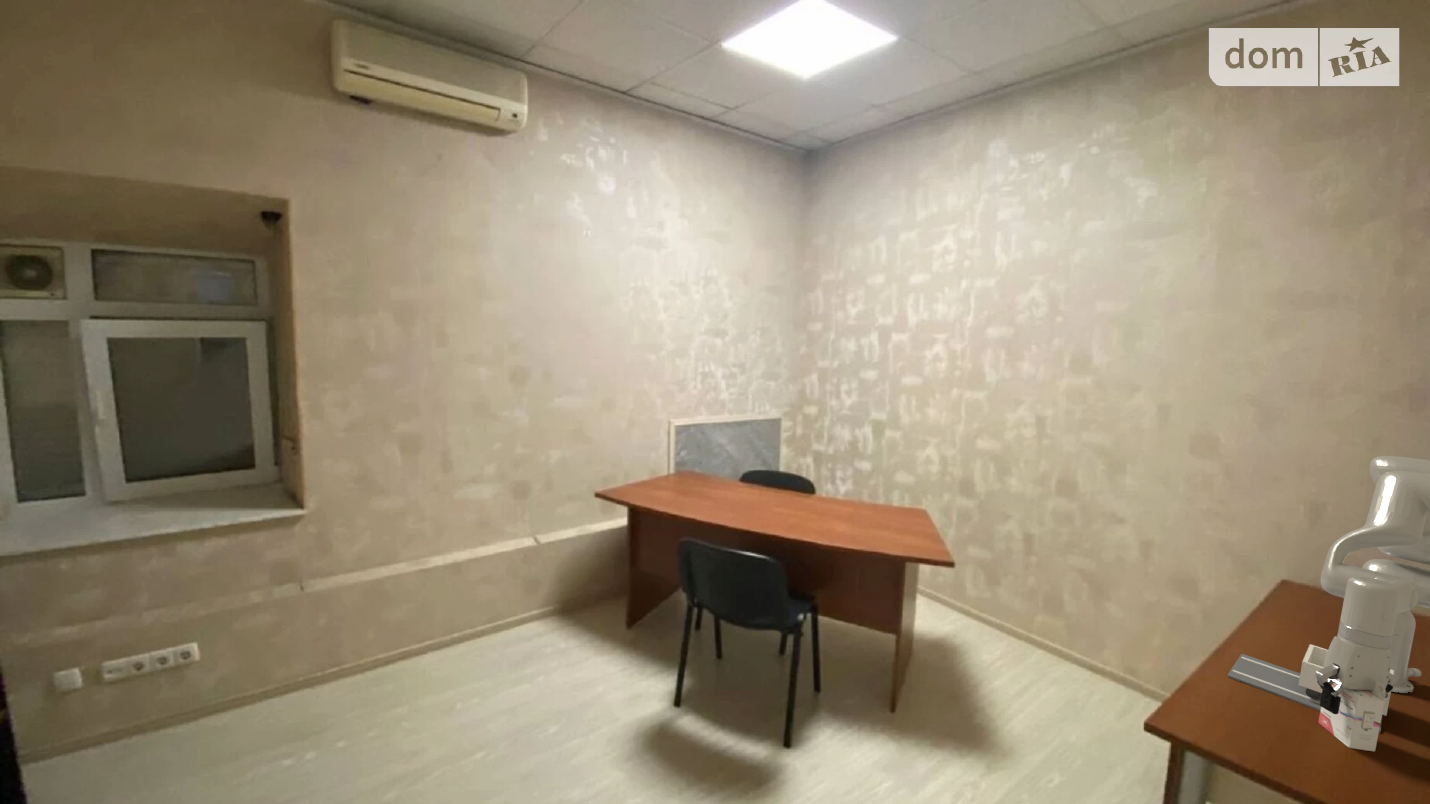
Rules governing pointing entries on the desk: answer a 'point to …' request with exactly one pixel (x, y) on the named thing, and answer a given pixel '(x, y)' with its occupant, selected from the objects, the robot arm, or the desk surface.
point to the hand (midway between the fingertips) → (1350, 711)
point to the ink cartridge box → (1356, 717)
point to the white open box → (1315, 663)
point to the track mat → (1273, 680)
